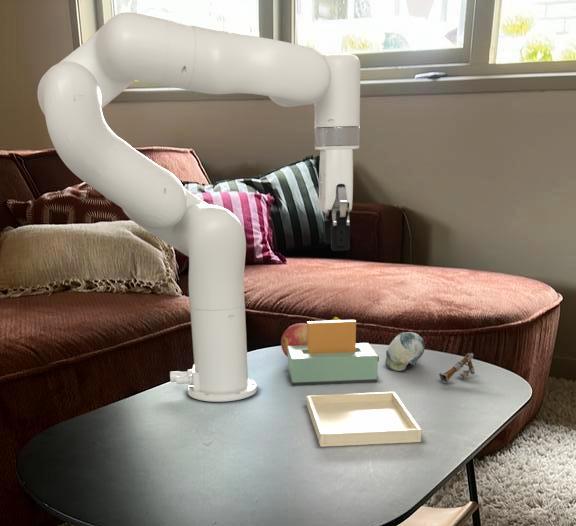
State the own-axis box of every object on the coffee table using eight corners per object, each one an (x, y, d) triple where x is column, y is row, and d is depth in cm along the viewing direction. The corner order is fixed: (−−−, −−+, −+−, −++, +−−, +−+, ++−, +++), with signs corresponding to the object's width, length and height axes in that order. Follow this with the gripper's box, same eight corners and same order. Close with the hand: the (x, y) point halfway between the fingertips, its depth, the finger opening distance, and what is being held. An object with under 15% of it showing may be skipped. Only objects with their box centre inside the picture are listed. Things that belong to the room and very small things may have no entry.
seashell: (382, 377, 151) (405, 362, 160) (415, 366, 146) (437, 351, 156) (371, 347, 150) (395, 333, 159) (404, 334, 145) (426, 321, 154)
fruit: (305, 370, 151) (305, 329, 148) (273, 364, 155) (272, 325, 152) (326, 361, 157) (326, 322, 153) (295, 356, 161) (295, 318, 157)
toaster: (292, 385, 142) (291, 358, 140) (287, 370, 151) (287, 345, 149) (382, 381, 143) (383, 355, 141) (372, 367, 152) (373, 342, 150)
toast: (308, 375, 146) (308, 323, 141) (307, 373, 147) (307, 321, 143) (355, 373, 146) (356, 321, 142) (353, 371, 148) (354, 319, 143)
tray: (320, 446, 113) (320, 434, 112) (306, 406, 130) (306, 395, 130) (421, 442, 114) (421, 429, 113) (394, 402, 131) (394, 391, 131)
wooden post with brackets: (480, 371, 145) (475, 351, 142) (450, 394, 143) (445, 374, 140) (473, 369, 146) (468, 349, 143) (444, 392, 144) (438, 372, 141)
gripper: (309, 140, 135) (310, 241, 143) (320, 140, 120) (321, 254, 127) (351, 139, 136) (350, 240, 143) (367, 139, 120) (365, 252, 128)
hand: (336, 246), depth 135 cm, fingers open, 9 cm apart
